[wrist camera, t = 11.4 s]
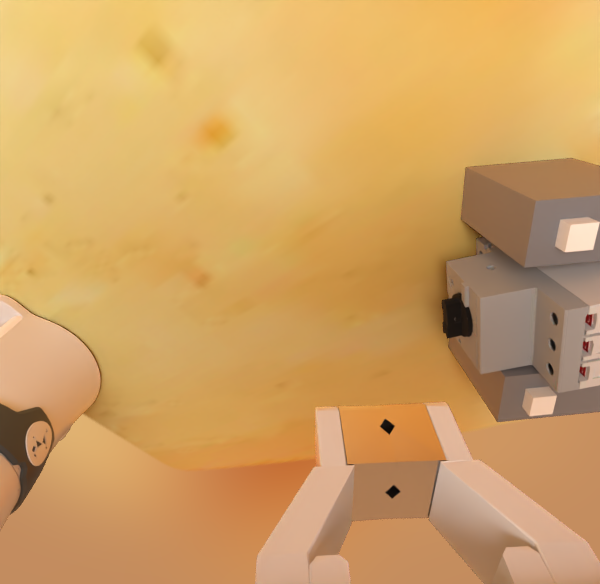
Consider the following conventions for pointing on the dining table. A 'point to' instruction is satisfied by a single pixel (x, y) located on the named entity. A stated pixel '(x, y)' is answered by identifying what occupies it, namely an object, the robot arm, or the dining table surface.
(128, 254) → the dining table surface
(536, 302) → the circuit breaker
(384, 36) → the dining table surface
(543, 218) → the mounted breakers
